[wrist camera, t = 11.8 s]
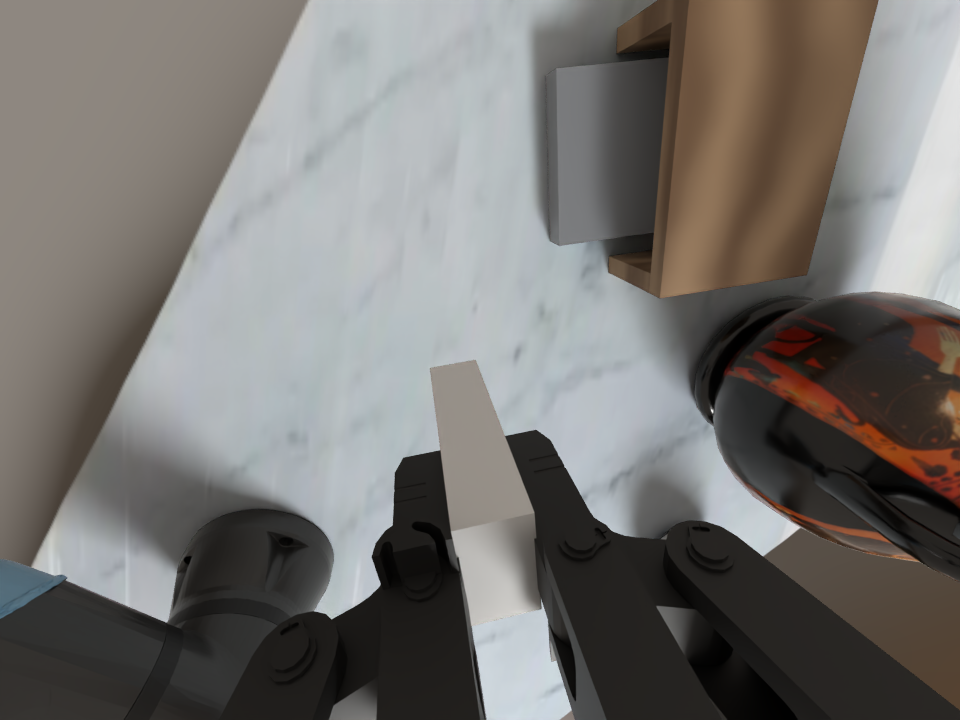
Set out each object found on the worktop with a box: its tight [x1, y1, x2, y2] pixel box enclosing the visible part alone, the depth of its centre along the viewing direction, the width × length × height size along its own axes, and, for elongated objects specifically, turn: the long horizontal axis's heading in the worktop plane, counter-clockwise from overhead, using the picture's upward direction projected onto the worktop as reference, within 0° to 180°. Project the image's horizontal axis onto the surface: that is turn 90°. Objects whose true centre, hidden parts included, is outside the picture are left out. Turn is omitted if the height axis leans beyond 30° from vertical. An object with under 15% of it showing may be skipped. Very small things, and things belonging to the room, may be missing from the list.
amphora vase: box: [694, 292, 960, 583], centre depth 32 cm, size 22×22×28 cm
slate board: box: [545, 57, 669, 246], centre depth 32 cm, size 16×12×3 cm
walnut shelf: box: [609, 0, 878, 298], centre depth 30 cm, size 12×18×8 cm, turn 6°
